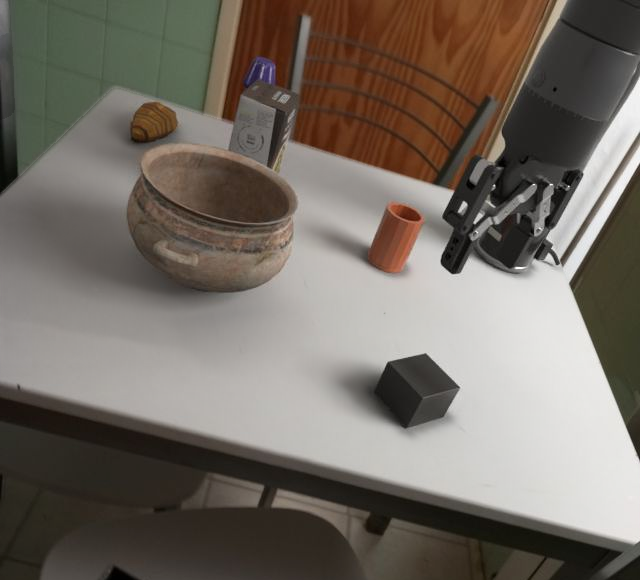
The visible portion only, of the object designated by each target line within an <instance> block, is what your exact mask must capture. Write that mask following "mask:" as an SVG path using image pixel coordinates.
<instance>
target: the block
mask: <svg viewBox="0 0 640 580" xmlns="http://www.w3.org/2000/svg"><path fill="white" fill-rule="evenodd" d="M460 389H461V386H460V385H458V383H456V381H455V380H453V379H452V377H451V376H450V375H448V373H446V372H445V370H444V369H443V368H442V367H441V366H439V364H438V363H436V362H435V361H434V360H433V359H432V358H431V357H430V356H429V354H427V352H424V353H421V354H416V355H411V356H407V357H403V358H398V359H393V360H388V361H387V363H386V365H385V366H384V369H383V371H382V372H381V375H380V378H379V379H378V382H377V384H376V385H375V388H374V390H373V393H374V395H375V396H376V397H377V398H378V399H379V400H380V401H381V402H382V404H383V405H385V407H387V409H388V410H389V412H391V413H392V415H393V416H394V417H395V418H396V419H397V420H398V421H399V422H400V423H401V424H402V425H403V427H404V428H405V429H409V428H412V427H415V426H419V425H422V424H425V423H428V422H433V421H435V420H438V419H442V418H444V417H445V415H446V413H447V412H448V410H449V408H450V406H451V405H452V403H453V401H454V400H455V398H456V397H457V395H458V393H459V391H460Z"/></svg>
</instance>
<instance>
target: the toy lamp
mask: <svg viewBox="0 0 640 580" xmlns="http://www.w3.org/2000/svg"><path fill="white" fill-rule="evenodd" d="M257 79H259V80H262V81H264V82H267V83H269V84H273V85H276V65H275V62H273V60H271V59H269V58H266V57H263V56H256V57H254V59H253V60H252V63H251V64H250V67H249V69H248V71H247V73H246V74H245V77H244V78H243V81H242V86H243V87H244V88H245V90H246V89H247V88H248V87H249V86H251V85H252V84H253V83H254V82H255V81H256V80H257Z"/></svg>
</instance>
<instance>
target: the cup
mask: <svg viewBox="0 0 640 580" xmlns="http://www.w3.org/2000/svg"><path fill="white" fill-rule="evenodd" d="M425 221H426V220H425V216H424V215H423V213H421V212H420V211H419V210H418V209H417V208H414V207H413V206H411V205H409V204H406V203H402V202H398V201H396V202H395V201H393V202H389V203H387V204H386V206H385V209H384V212H383V214H382V217H381V219H380V221H379V224H378V226H377V229H376V232H375V233H374V236H373V239H372V241H371V244H370V247H369V249H368V251H367V252H368V253H367V255H366V256H367V260H368V262H370V264H371V265H372V266H373V267H376V268H377V269H378V270H380V271H383V272H386V273H390V274H399V273H401V272H402V271H403V270H404V268H405V266H406V264H407V262H408V259H409V258H410V255H411V254H412V253H411V252H412V250H413V248H414V246H415V244H416V241H417V240H418V237H419V235H420V232H421V230H422V228H423V226H424V223H425Z"/></svg>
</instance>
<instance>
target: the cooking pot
mask: <svg viewBox="0 0 640 580" xmlns="http://www.w3.org/2000/svg"><path fill="white" fill-rule="evenodd" d="M139 169H140V172H141V173H140V175H139V177H138V178H137V180H136V181H135V183H134V185H133V186H132V189H131V190H130V193H129V195H128V196H129V197H128V200H127V205H126V211H125V212H126V213H125V217H126V222H127V228H128V233H129V234H130V238H131V239H132V242H133V244H134V246H135V247H136V249H137V251H138V252H139V253H140V255H141V256H142V257H143V258H144V260H146V261H147V263H149V265H151V266H152V267H153V268H154V269H155V270H157V271H158V272H159V273H161V274H162V275H163V276H165V277H167V278H168V279H171V280H172V281H174V282H176V283H178V284H181V285H183V286H186V287H188V288H190V289H193V290H196V291H199V292H200V291H201V292H207V293H216V294H217V293H218V294H232V293H233V294H234V293H240V292H246V291H250V290H253V289H257V288H258V287H261V286H262V285H265V284H266V283H268V282H269V281H271V280H272V279H273V278H274V277H276V276H277V275H278V274H279V273H280V272H281V271H282V270H283V268H284V267H285V265H286V264H287V262H288V260H289V258H290V256H291V254H292V249H293V244H294V222H293V221H294V219H293V216H295V214H296V212H297V211H298V208H299V204H300V202H299V198H298V194H297V192H296V190H295V189H294V187H292V186H291V184H290V183H289V181H287V180H286V179H285V178H284V177H282V176H281V175H280V173H279V174H277V173H276V172H274V171H273V170H271V169H270V168H268V167H266V166H265V165H263V164H261V163H259V162H257V161H255V160H253V159H251V158H248V157H246V156H243V155H241V154H238V153H235V152H232V151H229V150H228V149H226V148H221V147H217V146H213V145H207V144H203V143H195V142H170V143H169V142H168V143H163V144H159V145H156V146H153V147H151V148H149V149H148V150H146V151H145V152H143V154H142V156H141V157H140V160H139Z"/></svg>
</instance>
